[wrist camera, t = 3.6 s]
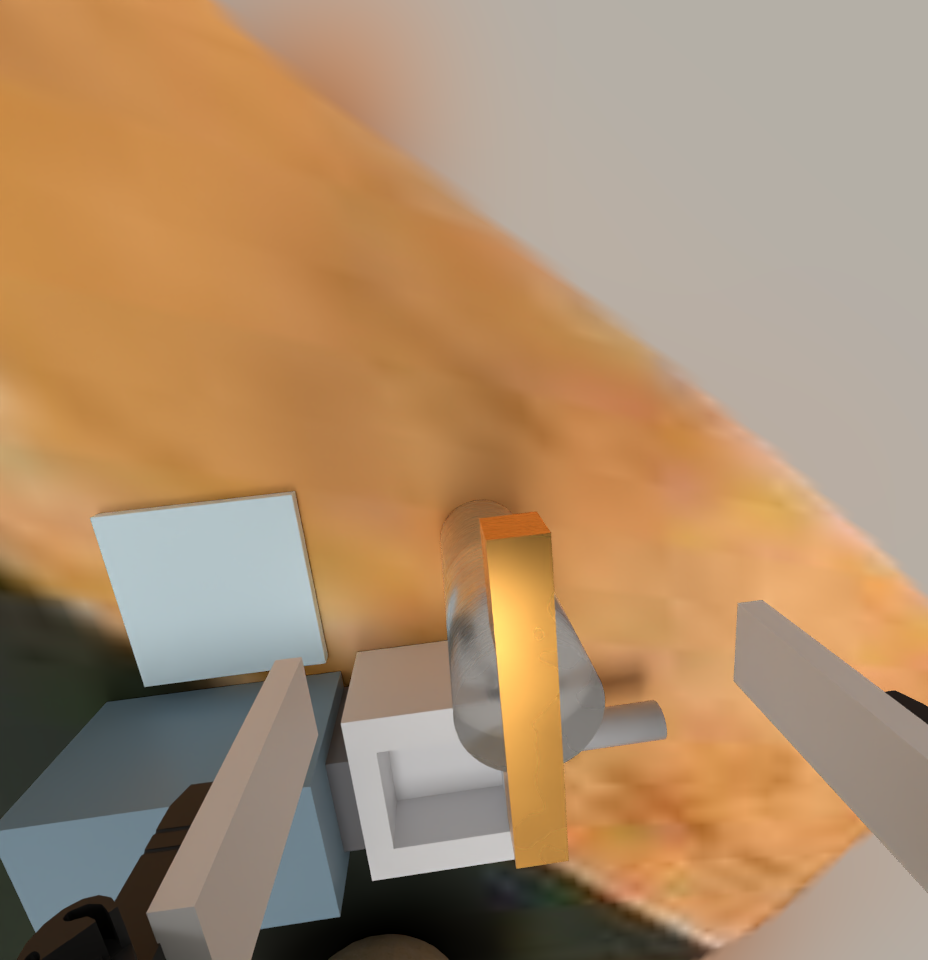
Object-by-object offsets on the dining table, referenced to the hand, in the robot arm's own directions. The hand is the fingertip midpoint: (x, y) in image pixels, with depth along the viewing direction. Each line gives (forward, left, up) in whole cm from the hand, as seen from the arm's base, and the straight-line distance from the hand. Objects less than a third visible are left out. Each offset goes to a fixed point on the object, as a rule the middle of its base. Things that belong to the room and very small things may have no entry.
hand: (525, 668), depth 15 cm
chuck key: (0, 0, -10) cm, 10 cm away
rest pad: (+1, -13, -10) cm, 17 cm away
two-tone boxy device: (+12, -6, -10) cm, 17 cm away
